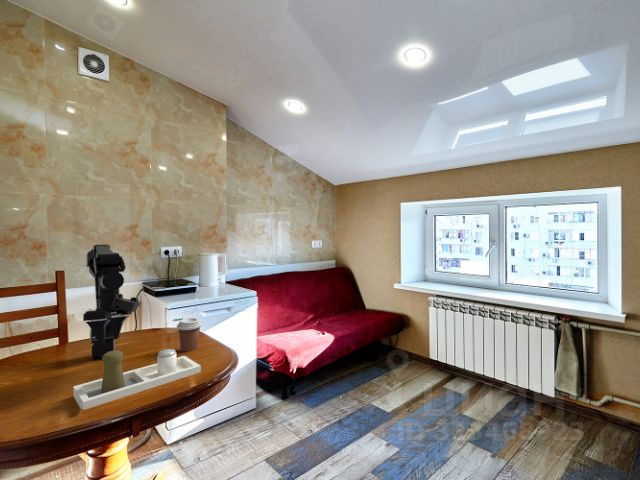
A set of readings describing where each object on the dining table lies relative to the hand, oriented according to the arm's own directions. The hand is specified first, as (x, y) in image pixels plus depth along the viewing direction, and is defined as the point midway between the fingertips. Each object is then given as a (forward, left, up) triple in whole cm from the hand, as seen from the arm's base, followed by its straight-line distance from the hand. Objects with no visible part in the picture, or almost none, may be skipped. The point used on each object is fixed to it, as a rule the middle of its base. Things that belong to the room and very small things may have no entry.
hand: (109, 340), depth 108 cm
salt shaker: (-17, +7, -11) cm, 21 cm away
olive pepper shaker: (-2, +13, -11) cm, 17 cm away
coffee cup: (-25, -14, -12) cm, 31 cm away
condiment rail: (-10, +10, -12) cm, 18 cm away
